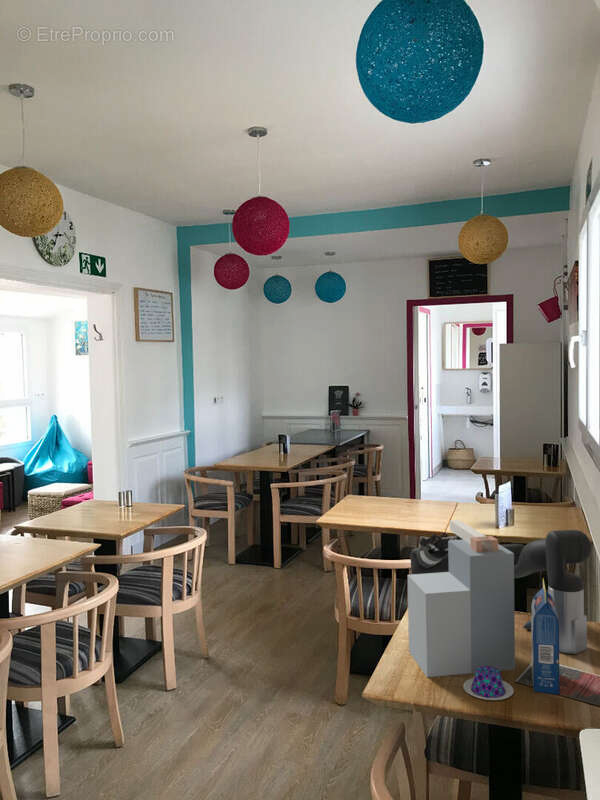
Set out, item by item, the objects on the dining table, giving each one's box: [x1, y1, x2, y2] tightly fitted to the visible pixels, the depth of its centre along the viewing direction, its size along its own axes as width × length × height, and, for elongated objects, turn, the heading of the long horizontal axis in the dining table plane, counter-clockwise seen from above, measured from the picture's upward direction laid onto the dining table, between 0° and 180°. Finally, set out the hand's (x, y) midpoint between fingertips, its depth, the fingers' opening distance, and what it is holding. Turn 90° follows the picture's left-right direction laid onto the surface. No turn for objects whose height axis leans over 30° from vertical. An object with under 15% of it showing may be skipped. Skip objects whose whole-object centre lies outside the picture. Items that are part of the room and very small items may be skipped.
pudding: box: [462, 666, 515, 701], centre depth 168 cm, size 12×12×5 cm
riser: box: [407, 539, 516, 678], centre depth 184 cm, size 16×24×31 cm, turn 98°
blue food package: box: [530, 578, 560, 695], centre depth 170 cm, size 6×12×25 cm, turn 163°
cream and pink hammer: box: [449, 519, 499, 552], centre depth 191 cm, size 24×6×3 cm, turn 8°
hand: (448, 536), depth 208 cm, fingers open, 8 cm apart
